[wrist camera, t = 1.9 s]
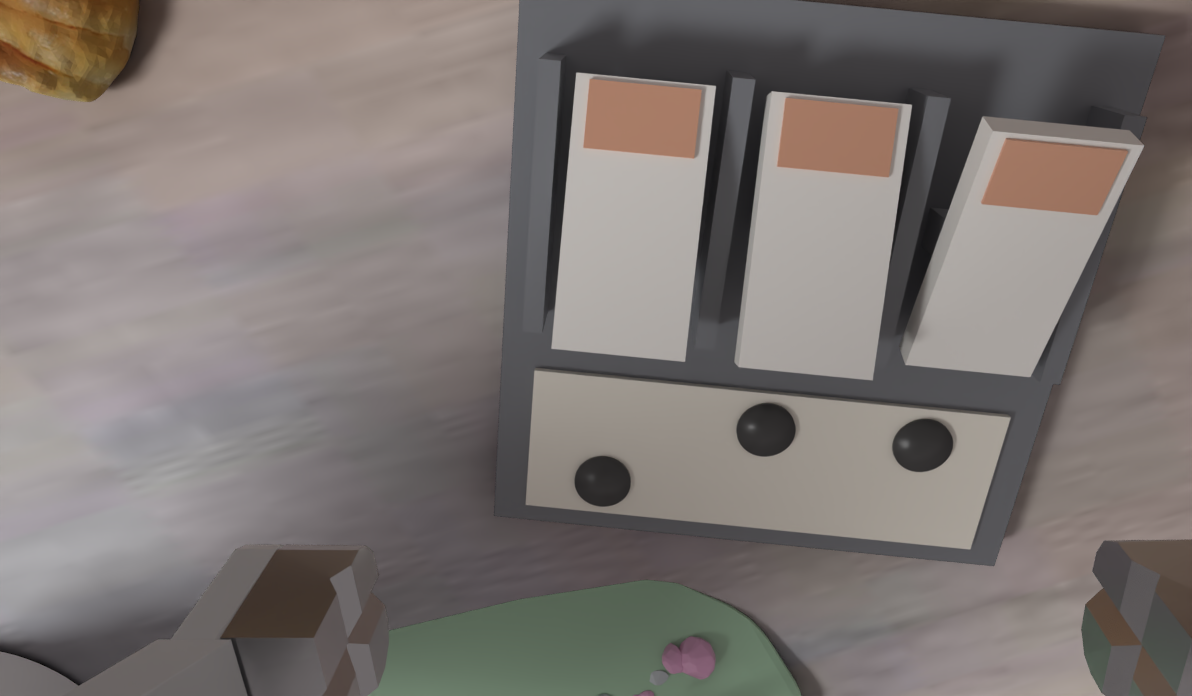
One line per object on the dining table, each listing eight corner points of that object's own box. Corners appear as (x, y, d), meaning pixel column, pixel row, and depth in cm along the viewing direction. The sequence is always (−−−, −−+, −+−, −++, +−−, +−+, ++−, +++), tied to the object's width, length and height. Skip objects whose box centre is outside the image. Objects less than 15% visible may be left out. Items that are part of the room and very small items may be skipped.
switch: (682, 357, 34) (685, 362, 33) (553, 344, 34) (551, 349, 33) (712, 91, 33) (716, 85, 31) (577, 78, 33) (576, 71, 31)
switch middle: (863, 375, 34) (873, 380, 33) (734, 362, 34) (739, 367, 33) (901, 109, 33) (913, 104, 31) (766, 96, 33) (772, 90, 31)
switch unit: (983, 547, 44) (1014, 600, 40) (498, 498, 44) (485, 547, 40) (1144, 33, 34) (1205, 40, 30) (525, -26, 34) (512, -26, 31)
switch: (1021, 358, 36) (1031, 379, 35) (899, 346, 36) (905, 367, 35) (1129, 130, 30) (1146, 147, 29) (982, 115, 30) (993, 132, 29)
